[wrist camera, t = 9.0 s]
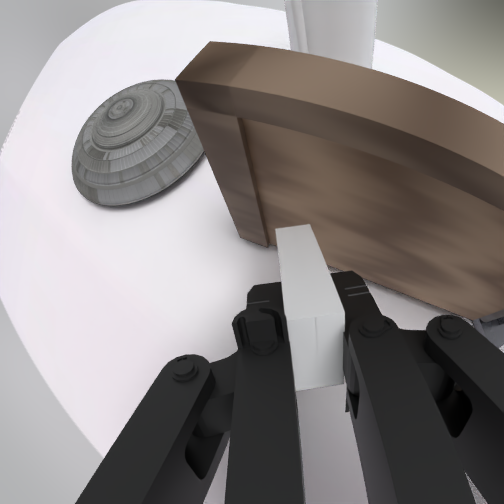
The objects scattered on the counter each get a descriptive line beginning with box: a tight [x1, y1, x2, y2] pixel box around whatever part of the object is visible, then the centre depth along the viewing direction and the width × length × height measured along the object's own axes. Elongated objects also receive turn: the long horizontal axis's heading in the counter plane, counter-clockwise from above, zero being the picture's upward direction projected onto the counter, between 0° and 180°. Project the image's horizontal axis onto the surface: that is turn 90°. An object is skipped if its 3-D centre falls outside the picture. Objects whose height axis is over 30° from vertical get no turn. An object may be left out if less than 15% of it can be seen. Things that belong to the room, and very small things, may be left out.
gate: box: [175, 41, 504, 322], centre depth 13 cm, size 19×2×13 cm, turn 66°
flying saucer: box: [72, 80, 204, 206], centre depth 26 cm, size 15×15×6 cm
